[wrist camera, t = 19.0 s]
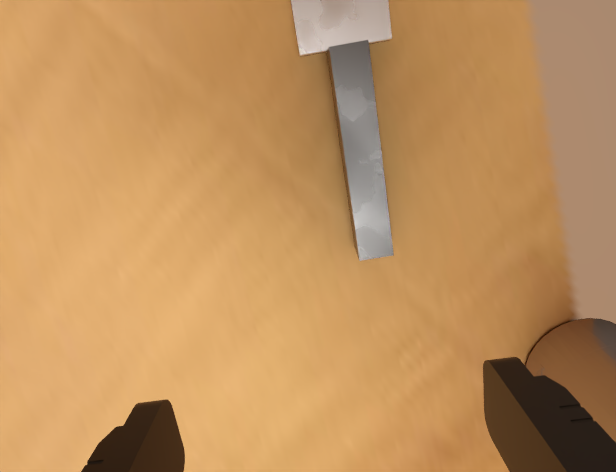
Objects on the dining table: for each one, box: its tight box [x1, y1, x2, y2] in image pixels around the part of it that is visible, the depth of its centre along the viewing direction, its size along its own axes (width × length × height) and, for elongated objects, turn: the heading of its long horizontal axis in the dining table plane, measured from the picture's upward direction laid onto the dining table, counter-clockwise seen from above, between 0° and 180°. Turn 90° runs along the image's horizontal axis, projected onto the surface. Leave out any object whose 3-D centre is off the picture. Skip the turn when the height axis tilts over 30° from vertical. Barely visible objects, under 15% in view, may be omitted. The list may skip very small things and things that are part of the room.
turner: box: [291, 0, 394, 261], centre depth 28 cm, size 22×6×3 cm, turn 10°
